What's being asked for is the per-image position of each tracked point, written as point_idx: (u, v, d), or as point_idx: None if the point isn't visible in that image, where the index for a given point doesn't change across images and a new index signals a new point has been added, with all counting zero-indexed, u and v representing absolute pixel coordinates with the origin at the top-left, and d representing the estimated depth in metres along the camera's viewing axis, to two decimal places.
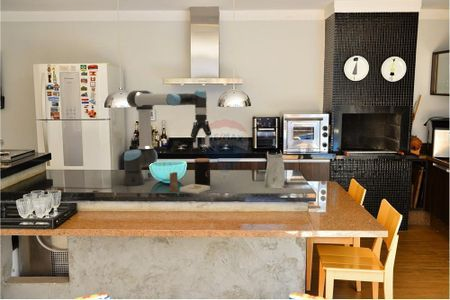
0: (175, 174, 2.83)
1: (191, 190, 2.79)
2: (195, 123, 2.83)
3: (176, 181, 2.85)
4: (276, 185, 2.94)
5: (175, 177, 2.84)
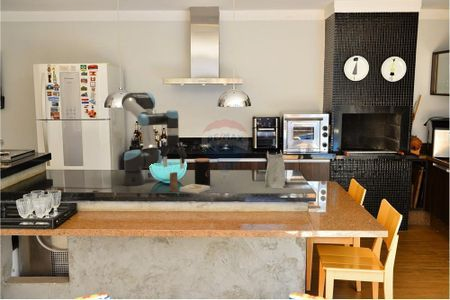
0: (175, 174, 2.83)
1: (191, 190, 2.79)
2: None
3: (176, 181, 2.85)
4: (277, 185, 2.94)
5: (175, 177, 2.84)
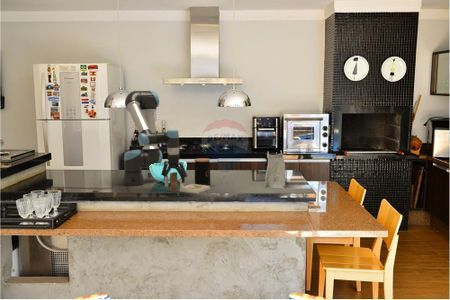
0: (175, 174, 2.83)
1: (191, 190, 2.79)
2: None
3: (176, 181, 2.85)
4: (277, 185, 2.94)
5: (175, 177, 2.84)
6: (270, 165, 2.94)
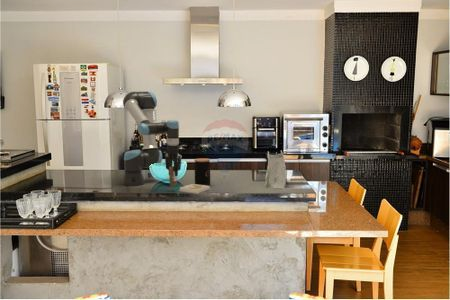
0: None
1: (191, 190, 2.79)
2: None
3: None
4: (278, 185, 2.94)
5: None
6: (270, 165, 2.94)
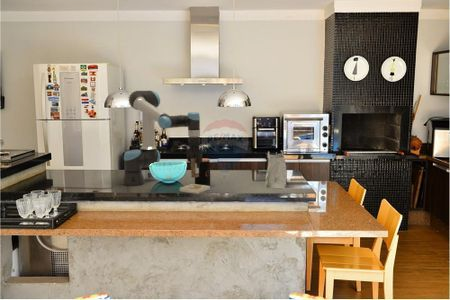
0: None
1: (191, 190, 2.79)
2: None
3: None
4: (278, 186, 2.94)
5: None
6: (271, 165, 2.94)
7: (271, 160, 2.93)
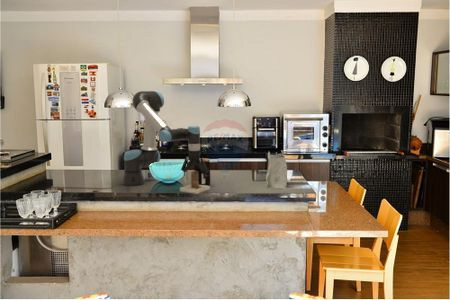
0: (196, 173, 2.84)
1: (191, 190, 2.79)
2: None
3: (197, 180, 2.86)
4: (279, 186, 2.94)
5: (196, 176, 2.84)
6: (272, 165, 2.93)
7: (272, 160, 2.93)
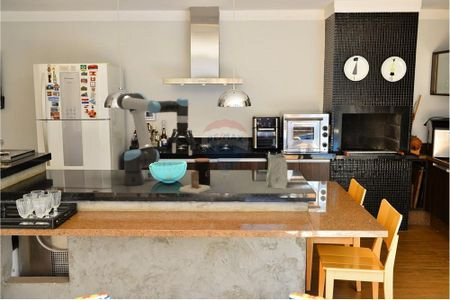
0: (196, 173, 2.84)
1: (191, 190, 2.79)
2: None
3: (197, 180, 2.86)
4: (279, 186, 2.94)
5: (196, 176, 2.84)
6: (272, 165, 2.93)
7: (272, 160, 2.93)
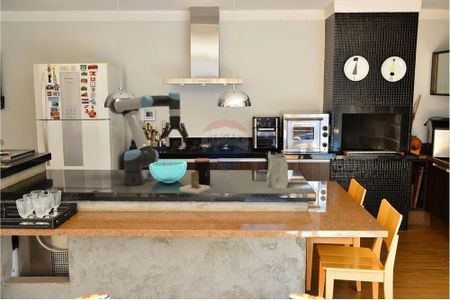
0: (196, 173, 2.84)
1: (191, 190, 2.79)
2: None
3: (197, 180, 2.86)
4: (280, 186, 2.94)
5: (196, 176, 2.84)
6: (273, 165, 2.93)
7: (273, 160, 2.93)
